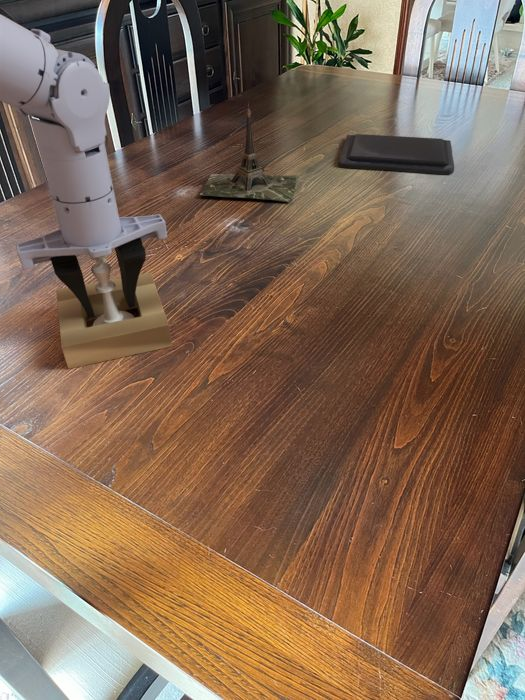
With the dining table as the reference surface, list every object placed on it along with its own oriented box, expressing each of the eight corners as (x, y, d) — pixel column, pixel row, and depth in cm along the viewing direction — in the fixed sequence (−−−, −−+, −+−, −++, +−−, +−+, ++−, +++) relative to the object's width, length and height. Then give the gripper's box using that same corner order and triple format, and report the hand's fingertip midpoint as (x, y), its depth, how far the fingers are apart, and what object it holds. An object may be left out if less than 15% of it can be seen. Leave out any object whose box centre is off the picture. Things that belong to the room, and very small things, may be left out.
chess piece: (110, 311, 65) (92, 235, 59) (145, 321, 64) (130, 244, 57) (83, 335, 62) (61, 257, 56) (120, 346, 60) (101, 267, 54)
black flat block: (336, 156, 96) (347, 127, 107) (335, 167, 97) (346, 137, 109) (455, 165, 92) (454, 134, 104) (453, 176, 94) (452, 144, 105)
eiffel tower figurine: (197, 199, 88) (189, 112, 80) (211, 174, 96) (205, 92, 87) (291, 204, 87) (292, 115, 78) (297, 177, 94) (299, 94, 86)
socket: (62, 310, 66) (56, 289, 64) (154, 292, 68) (150, 272, 66) (68, 369, 58) (61, 347, 56) (172, 346, 60) (168, 324, 58)
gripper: (5, 224, 47) (47, 346, 56) (168, 191, 52) (184, 309, 61) (-2, 192, 52) (38, 309, 61) (148, 165, 57) (165, 278, 65)
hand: (110, 307), depth 61 cm, fingers open, 4 cm apart
